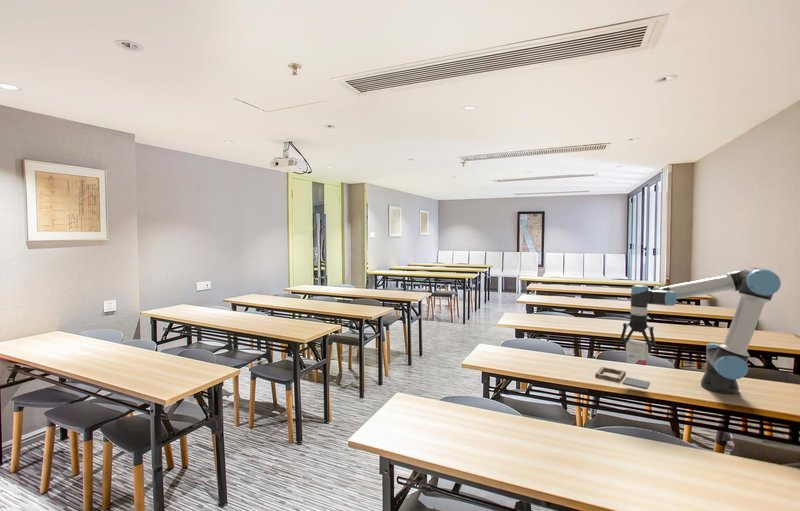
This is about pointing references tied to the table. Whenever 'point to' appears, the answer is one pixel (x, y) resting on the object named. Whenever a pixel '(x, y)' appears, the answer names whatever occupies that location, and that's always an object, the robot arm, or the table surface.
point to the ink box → (636, 352)
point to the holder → (618, 379)
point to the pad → (636, 382)
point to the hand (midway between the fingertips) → (636, 356)
